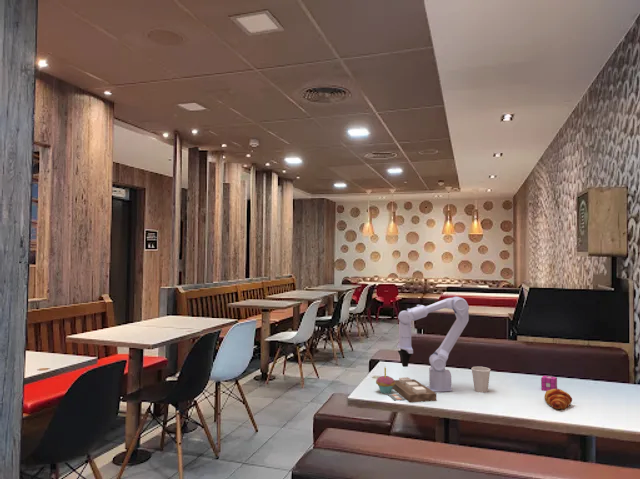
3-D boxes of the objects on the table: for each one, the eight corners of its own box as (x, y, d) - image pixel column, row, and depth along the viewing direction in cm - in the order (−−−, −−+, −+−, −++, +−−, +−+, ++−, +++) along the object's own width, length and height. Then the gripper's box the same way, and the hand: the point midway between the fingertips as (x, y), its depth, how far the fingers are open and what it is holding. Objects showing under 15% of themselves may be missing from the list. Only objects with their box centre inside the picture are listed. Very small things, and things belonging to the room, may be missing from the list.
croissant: (550, 405, 200) (540, 387, 202) (573, 396, 196) (562, 378, 199) (551, 418, 181) (540, 399, 183) (576, 409, 177) (565, 389, 180)
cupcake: (394, 395, 201) (394, 367, 201) (375, 394, 202) (375, 366, 203) (395, 390, 209) (395, 363, 210) (376, 389, 211) (376, 362, 211)
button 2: (421, 393, 199) (421, 386, 199) (426, 396, 194) (426, 389, 194) (412, 393, 198) (412, 386, 198) (416, 396, 194) (416, 389, 194)
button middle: (414, 388, 206) (414, 381, 207) (418, 391, 202) (418, 384, 202) (405, 388, 206) (405, 382, 206) (409, 391, 201) (409, 384, 202)
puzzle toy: (541, 390, 210) (541, 377, 211) (543, 387, 215) (543, 375, 215) (555, 392, 207) (554, 379, 207) (557, 389, 212) (556, 377, 212)
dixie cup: (480, 394, 204) (479, 371, 204) (467, 389, 211) (467, 367, 212) (495, 392, 207) (494, 369, 207) (481, 387, 214) (481, 365, 215)
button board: (414, 385, 217) (414, 379, 217) (436, 400, 193) (436, 393, 193) (390, 386, 214) (390, 380, 215) (409, 402, 191) (409, 394, 191)
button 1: (408, 383, 214) (408, 377, 214) (411, 386, 210) (411, 379, 210) (399, 384, 214) (399, 377, 214) (402, 386, 209) (402, 380, 209)
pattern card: (399, 394, 202) (399, 393, 202) (405, 400, 194) (405, 399, 194) (388, 395, 201) (388, 394, 201) (394, 400, 193) (394, 399, 193)
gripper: (391, 334, 219) (391, 363, 219) (402, 339, 205) (402, 370, 204) (405, 334, 221) (405, 362, 220) (417, 339, 206) (417, 369, 206)
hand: (405, 366), depth 212 cm, fingers closed
